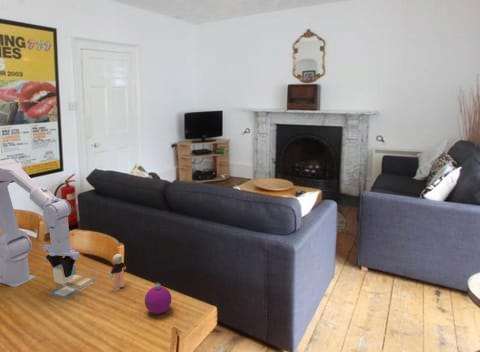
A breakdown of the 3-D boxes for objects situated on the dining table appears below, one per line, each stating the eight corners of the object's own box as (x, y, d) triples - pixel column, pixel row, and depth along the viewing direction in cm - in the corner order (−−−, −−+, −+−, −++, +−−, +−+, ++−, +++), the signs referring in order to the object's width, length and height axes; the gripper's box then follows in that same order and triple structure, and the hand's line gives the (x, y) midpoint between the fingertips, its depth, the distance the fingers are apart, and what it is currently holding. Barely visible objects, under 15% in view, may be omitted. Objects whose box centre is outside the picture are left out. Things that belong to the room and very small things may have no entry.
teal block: (59, 279, 133) (58, 266, 132) (68, 274, 137) (67, 262, 135) (67, 281, 131) (66, 269, 130) (76, 277, 135) (75, 264, 134)
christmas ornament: (139, 313, 114) (138, 283, 111) (159, 301, 120) (158, 273, 118) (158, 322, 109) (157, 292, 107) (177, 309, 116) (176, 281, 114)
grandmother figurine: (119, 293, 124) (117, 259, 121) (108, 292, 125) (106, 258, 122) (130, 282, 132) (128, 250, 129) (120, 281, 132) (118, 249, 130)
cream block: (54, 281, 122) (52, 267, 121) (64, 276, 126) (62, 263, 125) (62, 284, 121) (61, 270, 120) (72, 278, 124) (71, 265, 123)
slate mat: (46, 293, 123) (46, 293, 123) (79, 275, 136) (79, 275, 136) (66, 300, 120) (65, 299, 120) (98, 281, 132) (98, 280, 132)
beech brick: (63, 284, 129) (63, 280, 128) (75, 278, 133) (74, 274, 133) (80, 289, 126) (80, 285, 125) (91, 283, 130) (91, 279, 130)
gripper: (33, 237, 119) (37, 275, 122) (65, 245, 114) (69, 284, 117) (52, 230, 126) (55, 266, 129) (83, 237, 120) (86, 275, 123)
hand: (63, 274), depth 123 cm, fingers closed on cream block, 4 cm apart
